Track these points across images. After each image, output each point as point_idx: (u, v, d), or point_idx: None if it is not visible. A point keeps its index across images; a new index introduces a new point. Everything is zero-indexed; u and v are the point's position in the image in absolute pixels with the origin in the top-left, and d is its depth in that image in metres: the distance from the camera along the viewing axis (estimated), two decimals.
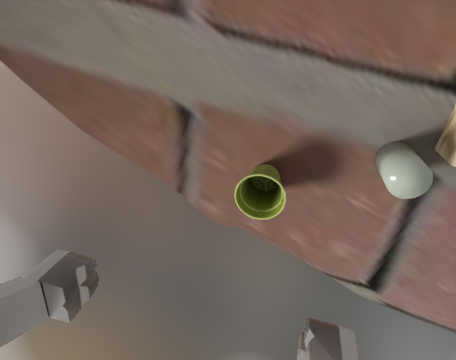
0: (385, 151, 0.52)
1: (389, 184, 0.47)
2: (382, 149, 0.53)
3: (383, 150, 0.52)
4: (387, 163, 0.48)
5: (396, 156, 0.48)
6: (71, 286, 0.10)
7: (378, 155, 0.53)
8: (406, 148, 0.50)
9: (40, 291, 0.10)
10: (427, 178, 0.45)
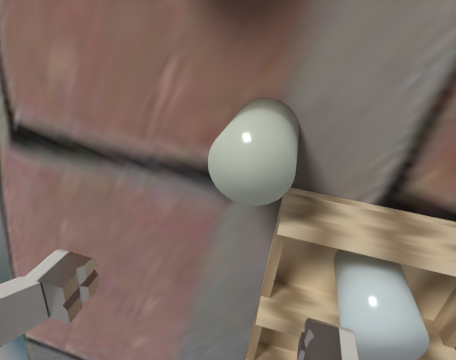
0: (288, 113, 0.26)
1: (236, 133, 0.21)
2: (287, 108, 0.27)
3: (286, 109, 0.26)
4: (276, 119, 0.22)
5: (292, 135, 0.23)
6: (71, 286, 0.10)
7: (274, 101, 0.27)
8: None
9: (40, 291, 0.10)
10: (258, 197, 0.22)
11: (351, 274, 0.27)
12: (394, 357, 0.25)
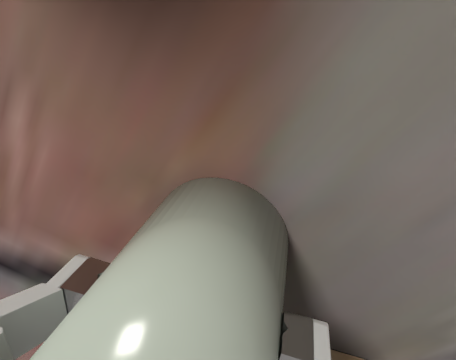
0: (259, 228, 0.11)
1: None
2: (259, 206, 0.12)
3: (256, 215, 0.11)
4: (210, 306, 0.07)
5: (262, 338, 0.08)
6: None
7: (230, 194, 0.12)
8: None
9: (62, 298, 0.10)
10: None
11: None
12: None
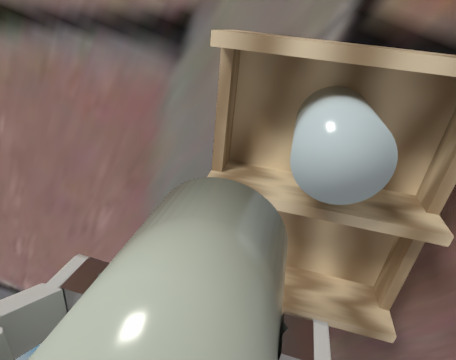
0: (259, 228, 0.11)
1: None
2: (259, 206, 0.12)
3: (256, 215, 0.11)
4: (209, 305, 0.07)
5: (262, 337, 0.08)
6: None
7: (229, 194, 0.12)
8: None
9: (62, 298, 0.10)
10: None
11: (307, 109, 0.22)
12: (357, 190, 0.20)
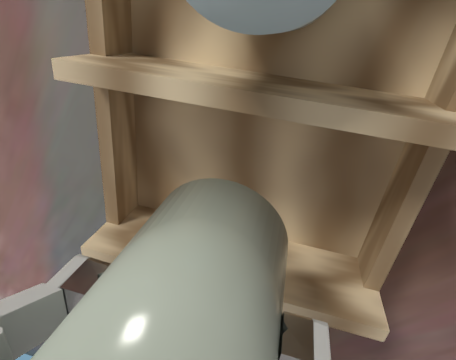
0: (259, 229, 0.11)
1: None
2: (259, 207, 0.12)
3: (256, 216, 0.11)
4: (209, 307, 0.07)
5: (262, 339, 0.08)
6: None
7: (230, 195, 0.12)
8: None
9: (62, 298, 0.10)
10: None
11: None
12: None
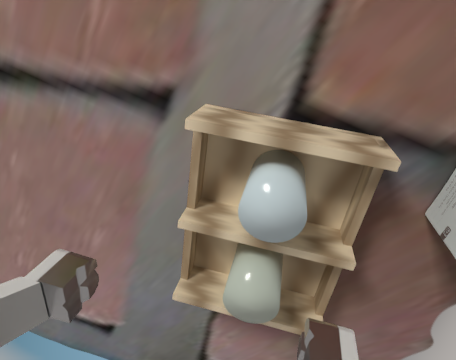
0: None
1: (242, 284, 0.32)
2: None
3: None
4: (267, 268, 0.34)
5: (278, 276, 0.35)
6: (71, 286, 0.10)
7: None
8: None
9: (40, 291, 0.10)
10: (255, 319, 0.34)
11: (254, 171, 0.31)
12: (283, 233, 0.28)
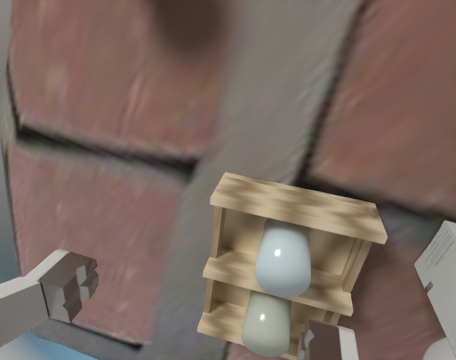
0: None
1: (257, 327, 0.39)
2: None
3: None
4: (278, 311, 0.41)
5: (287, 317, 0.41)
6: (71, 286, 0.10)
7: None
8: None
9: (40, 291, 0.10)
10: (268, 353, 0.41)
11: (267, 235, 0.38)
12: (291, 290, 0.35)
